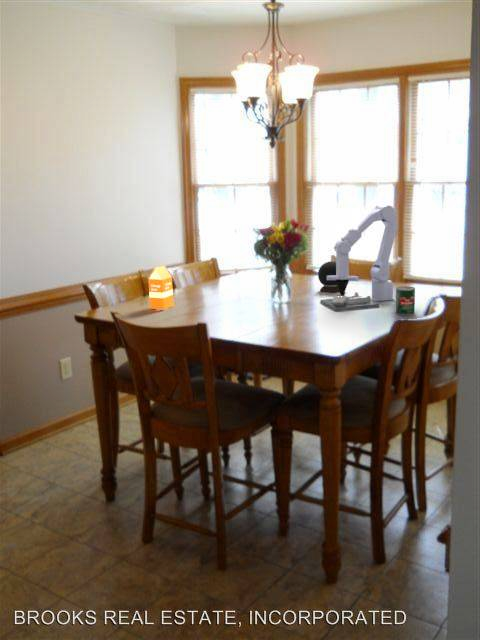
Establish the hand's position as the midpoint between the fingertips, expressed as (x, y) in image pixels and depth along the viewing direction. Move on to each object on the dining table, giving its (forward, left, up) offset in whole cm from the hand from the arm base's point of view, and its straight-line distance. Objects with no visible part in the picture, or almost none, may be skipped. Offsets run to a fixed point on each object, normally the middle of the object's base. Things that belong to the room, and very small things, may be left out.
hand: (342, 295), depth 322 cm
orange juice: (+82, -22, -3) cm, 85 cm away
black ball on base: (-5, -28, -3) cm, 29 cm away
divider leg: (-2, +5, -2) cm, 6 cm away
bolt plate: (-1, +6, -3) cm, 7 cm away
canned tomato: (-16, +31, -3) cm, 35 cm away
